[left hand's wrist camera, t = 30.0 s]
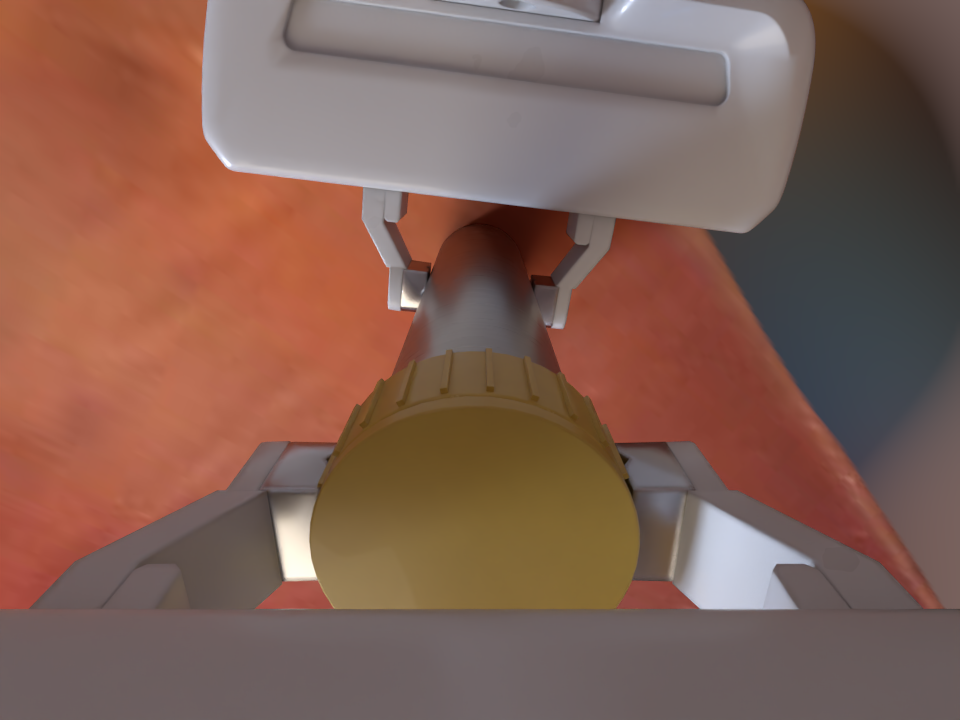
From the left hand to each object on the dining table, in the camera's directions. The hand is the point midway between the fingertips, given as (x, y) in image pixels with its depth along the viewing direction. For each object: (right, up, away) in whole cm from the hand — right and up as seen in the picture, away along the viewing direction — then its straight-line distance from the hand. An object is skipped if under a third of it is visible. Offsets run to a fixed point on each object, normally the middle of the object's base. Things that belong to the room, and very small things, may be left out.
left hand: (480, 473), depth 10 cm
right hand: (0, +4, +12) cm, 13 cm away
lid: (0, -1, -2) cm, 2 cm away
